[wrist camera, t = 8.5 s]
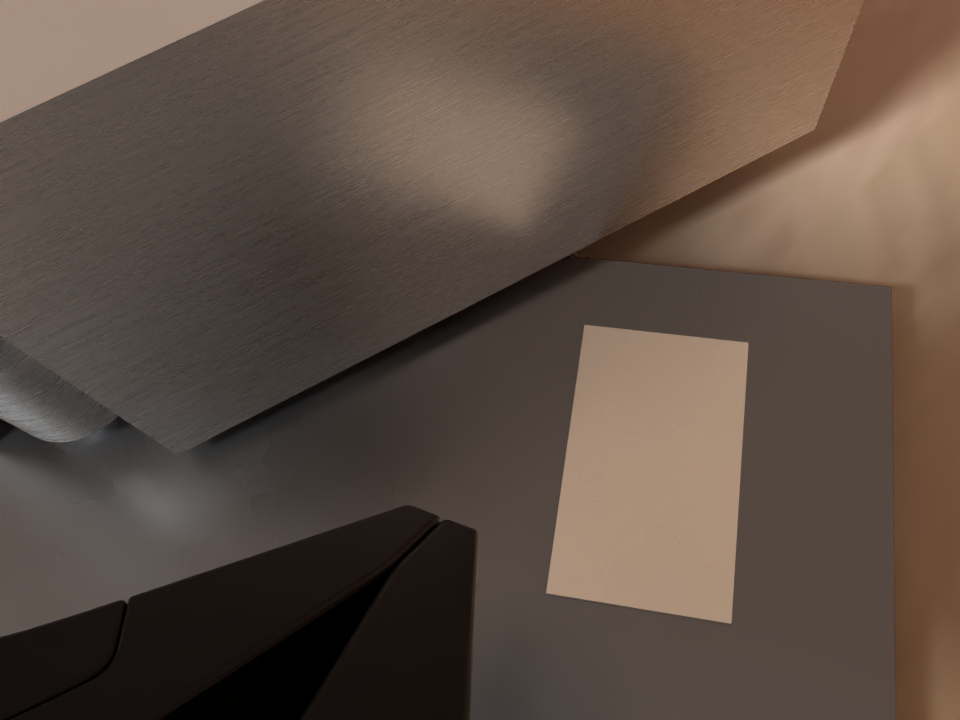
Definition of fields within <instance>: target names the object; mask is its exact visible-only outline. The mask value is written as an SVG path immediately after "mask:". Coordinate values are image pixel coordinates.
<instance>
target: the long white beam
mask: <svg viewBox="0 0 960 720" xmlns="http://www.w3.org/2000/svg"><path fill="white" fill-rule="evenodd" d="M863 2H864V0H0V418H1V419H2V420H4V421H6V422H8V423H10V424H12V425H14V426H16V427H17V428H19V429H21V430H23V431H25V432H27V433H29V434H31V435H32V436H34V437H36V438H39V439H41V440H45V441H49V442H70V441H76V440H79V439H82V438H85V437H88V436H90V435H92V434H94V433H96V432H98V431H99V430H101V429H103V428H104V427H105V426H107V425H108V424H110V423H111V422H112V421H113V420H114V419H115V418H116V417H117V416H120V417H121V418H123V419H124V420H125V421H127V422H128V423H130V424H131V425H133V426H134V427H136V428H137V429H139V430H140V431H142V432H143V433H145V434H146V435H148V436H149V437H151V438H152V439H154V440H155V441H157V442H158V443H160V444H161V445H163V446H164V447H166V448H167V449H169V450H170V451H171V452H173V453H174V454H176V455H179V454H181V453H183V452H185V451H187V450H189V449H191V448H193V447H195V446H196V445H198V444H200V443H202V442H204V441H206V440H208V439H210V438H212V437H214V436H216V435H218V434H220V433H222V432H224V431H226V430H228V429H230V428H232V427H234V426H236V425H238V424H240V423H241V422H243V421H245V420H247V419H249V418H251V417H253V416H255V415H257V414H259V413H261V412H263V411H265V410H267V409H269V408H271V407H273V406H275V405H277V404H279V403H281V402H283V401H285V400H286V399H288V398H290V397H292V396H294V395H296V394H298V393H300V392H302V391H304V390H306V389H308V388H310V387H312V386H314V385H316V384H318V383H320V382H322V381H324V380H326V379H328V378H330V377H331V376H333V375H335V374H337V373H339V372H341V371H343V370H345V369H347V368H349V367H351V366H353V365H355V364H357V363H359V362H361V361H363V360H365V359H367V358H369V357H371V356H373V355H375V354H376V353H378V352H380V351H382V350H384V349H386V348H388V347H390V346H392V345H394V344H396V343H398V342H400V341H402V340H404V339H406V338H408V337H410V336H412V335H414V334H416V333H418V332H420V331H421V330H423V329H425V328H427V327H429V326H431V325H433V324H435V323H437V322H439V321H441V320H443V319H445V318H447V317H449V316H451V315H453V314H455V313H457V312H459V311H461V310H463V309H465V308H467V307H468V306H470V305H472V304H474V303H476V302H478V301H480V300H482V299H484V298H486V297H488V296H490V295H492V294H494V293H496V292H498V291H500V290H502V289H504V288H506V287H508V286H510V285H512V284H513V283H515V282H517V281H519V280H521V279H523V278H525V277H527V276H529V275H531V274H533V273H535V272H537V271H539V270H541V269H543V268H545V267H547V266H549V265H551V264H553V263H555V262H557V261H558V260H560V259H562V258H564V257H566V256H568V255H570V254H572V253H574V252H576V251H578V250H580V249H582V248H584V247H586V246H588V245H590V244H592V243H594V242H596V241H598V240H600V239H602V238H603V237H605V236H607V235H609V234H611V233H613V232H615V231H617V230H619V229H621V228H623V227H625V226H627V225H629V224H631V223H633V222H635V221H637V220H639V219H641V218H643V217H645V216H647V215H648V214H650V213H652V212H654V211H656V210H658V209H660V208H662V207H664V206H666V205H668V204H670V203H672V202H674V201H676V200H678V199H680V198H682V197H684V196H686V195H688V194H690V193H692V192H693V191H695V190H697V189H699V188H701V187H703V186H705V185H707V184H709V183H711V182H713V181H715V180H717V179H719V178H721V177H723V176H725V175H727V174H729V173H731V172H733V171H735V170H737V169H738V168H740V167H742V166H744V165H746V164H748V163H750V162H752V161H754V160H756V159H758V158H760V157H762V156H764V155H766V154H768V153H770V152H772V151H774V150H776V149H778V148H780V147H782V146H783V145H785V144H787V143H789V142H791V141H793V140H795V139H797V138H799V137H801V136H803V135H805V134H807V133H809V132H811V131H813V130H815V128H816V125H817V123H818V120H819V117H820V115H821V112H822V110H823V107H824V104H825V102H826V99H827V97H828V94H829V91H830V89H831V86H832V83H833V81H834V78H835V76H836V73H837V70H838V68H839V65H840V63H841V60H842V57H843V55H844V52H845V49H846V47H847V44H848V42H849V39H850V36H851V34H852V31H853V29H854V26H855V23H856V21H857V18H858V16H859V13H860V10H861V8H862V5H863Z"/></svg>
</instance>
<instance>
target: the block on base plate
mask: <svg viewBox="0 0 960 720" xmlns="http://www.w3.org/2000/svg"><path fill="white" fill-rule="evenodd" d="M405 505H411V506H414V507H417V508H419V509H422V510H425V511H427V512H430V513H432V514H435V515H437V516H439V517H440V518H441V521H443V520H451V521H454V522H457V523H459V524H462V525H465V526H467V527H470V528H473V529H475V530H477V531H478V533H479V554H478V573H477V593H476V612H475V632H474V651H473V671H472V690H471V710H470V720H896V713H895V612H894V511H893V410H892V309H891V287H885V286H874V285H864V284H853V283H843V282H832V281H822V280H811V279H801V278H790V277H780V276H769V275H759V274H748V273H738V272H727V271H717V270H707V269H696V268H686V267H675V266H665V265H654V264H644V263H633V262H623V261H612V260H602V259H591V258H581V257H570V256H566V257H564V258H562V259H560V260H558V261H557V262H555V263H553V264H551V265H549V266H547V267H545V268H543V269H541V270H539V271H537V272H535V273H533V274H531V275H529V276H527V277H525V278H523V279H521V280H519V281H517V282H515V283H513V284H512V285H510V286H508V287H506V288H504V289H502V290H500V291H498V292H496V293H494V294H492V295H490V296H488V297H486V298H484V299H482V300H480V301H478V302H476V303H474V304H472V305H470V306H468V307H467V308H465V309H463V310H461V311H459V312H457V313H455V314H453V315H451V316H449V317H447V318H445V319H443V320H441V321H439V322H437V323H435V324H433V325H431V326H429V327H427V328H425V329H423V330H421V331H420V332H418V333H416V334H414V335H412V336H410V337H408V338H406V339H404V340H402V341H400V342H398V343H396V344H394V345H392V346H390V347H388V348H386V349H384V350H382V351H380V352H378V353H376V354H375V355H373V356H371V357H369V358H367V359H365V360H363V361H361V362H359V363H357V364H355V365H353V366H351V367H349V368H347V369H345V370H343V371H341V372H339V373H337V374H335V375H333V376H331V377H330V378H328V379H326V380H324V381H322V382H320V383H318V384H316V385H314V386H312V387H310V388H308V389H306V390H304V391H302V392H300V393H298V394H296V395H294V396H292V397H290V398H288V399H286V400H285V401H283V402H281V403H279V404H277V405H275V406H273V407H271V408H269V409H267V410H265V411H263V412H261V413H259V414H257V415H255V416H253V417H251V418H249V419H247V420H245V421H243V422H241V423H240V424H238V425H236V426H234V427H232V428H230V429H228V430H226V431H224V432H222V433H220V434H218V435H216V436H214V437H212V438H210V439H208V440H206V441H204V442H202V443H200V444H198V445H196V446H195V447H193V448H191V449H189V450H187V451H185V452H183V453H181V454H179V455H176V454H174V453H173V452H171V451H170V450H169V449H167V448H166V447H164V446H163V445H161V444H160V443H158V442H157V441H155V440H154V439H152V438H151V437H149V436H148V435H146V434H145V433H143V432H142V431H140V430H139V429H137V428H136V427H134V426H133V425H131V424H130V423H128V422H127V421H125V420H124V419H123V418H121V417H120V416H117V417H116V418H115V419H114V420H113V421H112V422H111V423H110V424H108V425H107V426H105V427H104V428H103V429H101V430H99V431H98V432H96V433H94V434H92V435H90V436H88V437H85V438H82V439H79V440H76V441H70V442H49V441H45V440H41V439H39V438H36V437H34V436H32V435H31V434H29V433H27V432H25V431H23V430H21V429H19V428H17V427H16V426H14V425H12V424H10V423H8V422H6V421H4V420H2V419H1V418H0V637H2V636H5V635H9V634H13V633H17V632H20V631H24V630H27V629H31V628H34V627H37V626H40V625H44V624H47V623H50V622H53V621H56V620H60V619H63V618H66V617H69V616H73V615H76V614H79V613H82V612H85V611H88V610H91V609H94V608H97V607H100V606H103V605H106V604H109V603H112V602H115V601H118V600H124V601H125V602H126V604H127V601H128V599H129V598H130V597H131V596H134V595H137V594H140V593H143V592H146V591H149V590H152V589H155V588H158V587H161V586H164V585H167V584H170V583H173V582H176V581H179V580H182V579H185V578H188V577H191V576H194V575H197V574H200V573H203V572H206V571H209V570H212V569H215V568H218V567H221V566H224V565H227V564H230V563H233V562H236V561H239V560H242V559H245V558H248V557H251V556H254V555H257V554H260V553H263V552H266V551H269V550H272V549H275V548H278V547H281V546H284V545H287V544H290V543H293V542H296V541H299V540H302V539H305V538H308V537H311V536H314V535H317V534H320V533H323V532H326V531H329V530H332V529H335V528H338V527H341V526H344V525H347V524H350V523H353V522H356V521H359V520H362V519H365V518H368V517H371V516H374V515H377V514H380V513H383V512H386V511H389V510H392V509H395V508H398V507H401V506H405Z"/></svg>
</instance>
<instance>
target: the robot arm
mask: <svg viewBox="0 0 960 720" xmlns="http://www.w3.org/2000/svg"><path fill="white" fill-rule="evenodd" d="M478 554H479V533H478V531H477V530H475V529H473V528H470V527H467V526H465V525H462V524H459V523H457V522H454V521H451V520H443V521H441V518H440V517H439V516H437V515H435V514H432V513H430V512H427V511H425V510H422V509H419V508H417V507H414V506H411V505H405V506H401V507H398V508H395V509H392V510H389V511H386V512H383V513H380V514H377V515H374V516H371V517H368V518H365V519H362V520H359V521H356V522H353V523H350V524H347V525H344V526H341V527H338V528H335V529H332V530H329V531H326V532H323V533H320V534H317V535H314V536H311V537H308V538H305V539H302V540H299V541H296V542H293V543H290V544H287V545H284V546H281V547H278V548H275V549H272V550H269V551H266V552H263V553H260V554H257V555H254V556H251V557H248V558H245V559H242V560H239V561H236V562H233V563H230V564H227V565H224V566H221V567H218V568H215V569H212V570H209V571H206V572H203V573H200V574H197V575H194V576H191V577H188V578H185V579H182V580H179V581H176V582H173V583H170V584H167V585H164V586H161V587H158V588H155V589H152V590H149V591H146V592H143V593H140V594H137V595H134V596H131V597H130V598H129V599H128V601H127V604H126V602H125V601H124V600H118V601H115V602H112V603H109V604H106V605H103V606H100V607H97V608H94V609H91V610H88V611H85V612H82V613H79V614H76V615H73V616H69V617H66V618H63V619H60V620H56V621H53V622H50V623H47V624H44V625H40V626H37V627H34V628H31V629H27V630H24V631H20V632H17V633H13V634H9V635H5V636H2V637H0V720H470V710H471V690H472V671H473V651H474V632H475V612H476V593H477V573H478Z"/></svg>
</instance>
